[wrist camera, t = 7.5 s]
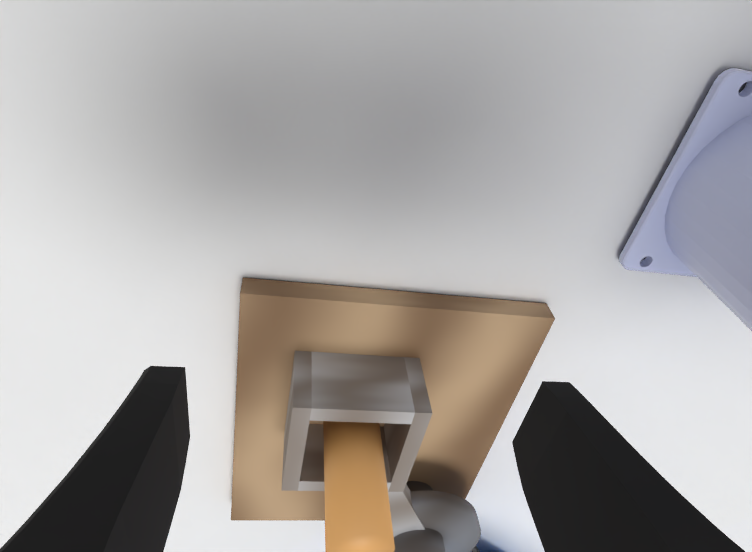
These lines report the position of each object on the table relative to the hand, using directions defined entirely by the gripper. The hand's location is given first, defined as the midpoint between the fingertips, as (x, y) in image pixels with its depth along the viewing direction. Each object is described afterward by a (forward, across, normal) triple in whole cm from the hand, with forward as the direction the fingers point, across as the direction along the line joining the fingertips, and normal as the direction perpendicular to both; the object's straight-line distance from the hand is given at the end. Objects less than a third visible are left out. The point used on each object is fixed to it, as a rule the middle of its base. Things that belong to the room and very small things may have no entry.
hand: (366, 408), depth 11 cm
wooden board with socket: (+10, -3, +12) cm, 16 cm away
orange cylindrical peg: (+9, -1, +10) cm, 13 cm away
